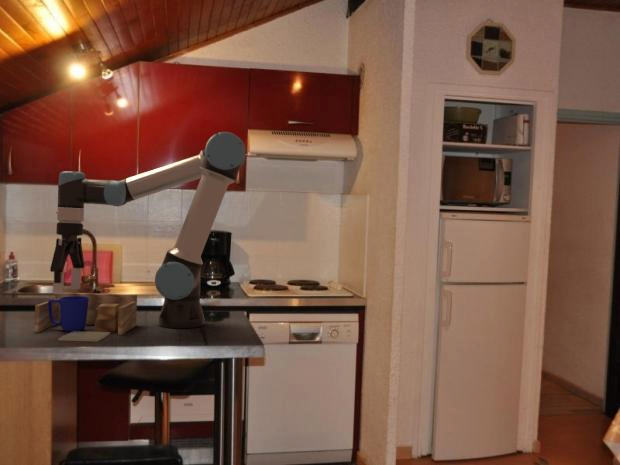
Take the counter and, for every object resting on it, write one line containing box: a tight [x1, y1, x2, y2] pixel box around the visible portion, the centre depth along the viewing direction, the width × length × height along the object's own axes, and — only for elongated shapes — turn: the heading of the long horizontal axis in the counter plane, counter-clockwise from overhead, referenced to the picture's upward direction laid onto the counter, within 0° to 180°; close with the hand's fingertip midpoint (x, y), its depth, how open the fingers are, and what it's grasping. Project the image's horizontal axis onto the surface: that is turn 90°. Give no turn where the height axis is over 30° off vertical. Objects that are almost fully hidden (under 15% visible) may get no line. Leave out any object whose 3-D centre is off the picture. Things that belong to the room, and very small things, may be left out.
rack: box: [34, 292, 138, 335], centre depth 183 cm, size 26×16×10 cm, turn 91°
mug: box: [48, 296, 89, 333], centre depth 179 cm, size 8×12×10 cm
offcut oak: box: [98, 304, 119, 320], centre depth 182 cm, size 5×6×4 cm
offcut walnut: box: [94, 317, 118, 333], centre depth 182 cm, size 6×7×4 cm
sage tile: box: [57, 330, 111, 343], centre depth 170 cm, size 11×11×1 cm
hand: (67, 291), depth 179 cm, fingers open, 13 cm apart
